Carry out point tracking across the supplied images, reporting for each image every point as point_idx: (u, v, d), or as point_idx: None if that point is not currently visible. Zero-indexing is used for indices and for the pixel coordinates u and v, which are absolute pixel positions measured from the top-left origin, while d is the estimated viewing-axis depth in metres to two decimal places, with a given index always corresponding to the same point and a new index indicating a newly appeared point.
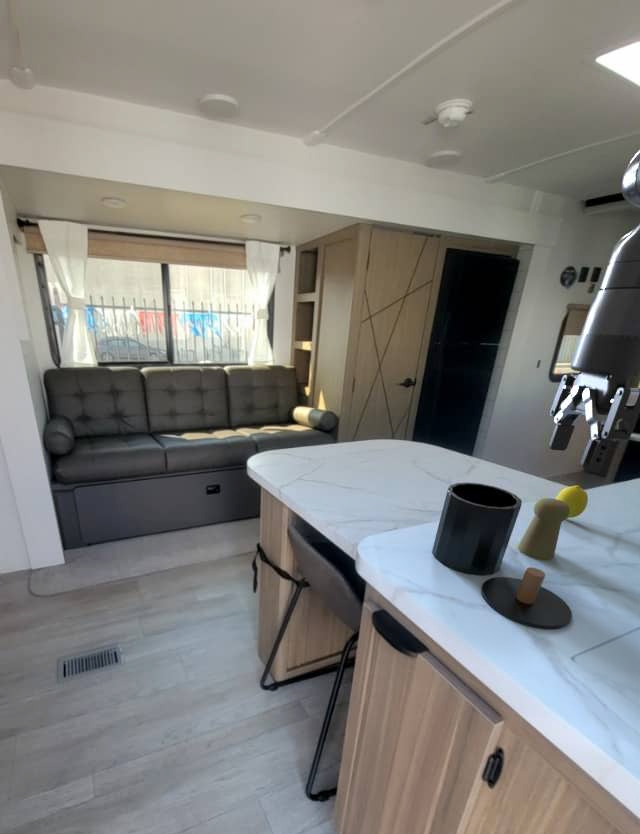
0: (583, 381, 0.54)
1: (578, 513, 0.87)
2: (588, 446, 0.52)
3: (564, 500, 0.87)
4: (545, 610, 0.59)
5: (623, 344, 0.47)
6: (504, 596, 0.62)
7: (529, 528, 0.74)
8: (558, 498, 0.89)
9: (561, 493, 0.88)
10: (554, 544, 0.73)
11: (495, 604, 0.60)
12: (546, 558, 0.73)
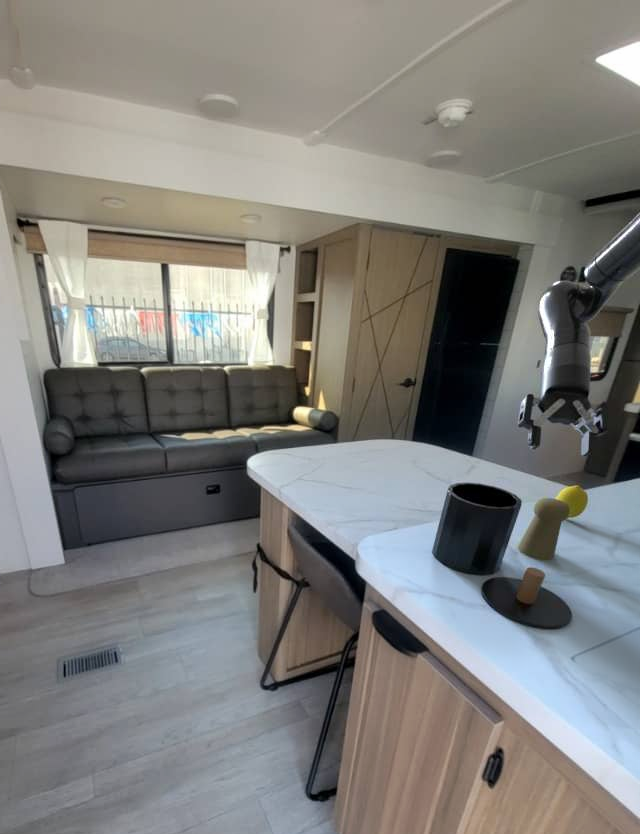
0: None
1: (578, 513, 0.87)
2: None
3: (564, 500, 0.87)
4: (545, 610, 0.59)
5: (542, 381, 0.80)
6: (504, 596, 0.62)
7: (529, 528, 0.74)
8: (558, 498, 0.89)
9: (561, 493, 0.88)
10: (554, 544, 0.73)
11: (495, 604, 0.60)
12: (546, 558, 0.73)
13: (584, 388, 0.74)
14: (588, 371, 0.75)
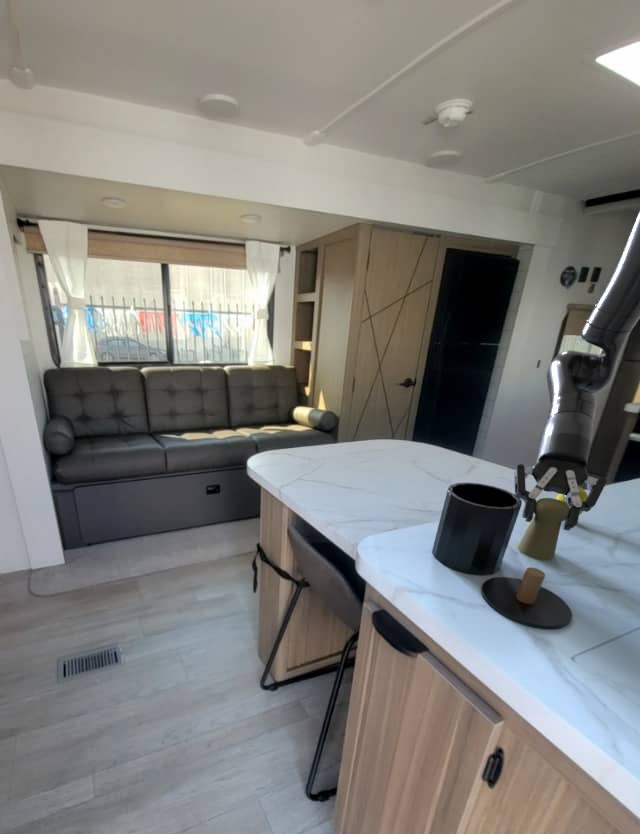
0: None
1: None
2: None
3: (564, 500, 0.87)
4: (545, 610, 0.59)
5: None
6: (504, 596, 0.62)
7: (529, 528, 0.74)
8: (558, 498, 0.89)
9: None
10: (554, 544, 0.73)
11: (495, 604, 0.60)
12: (546, 558, 0.73)
13: (578, 458, 0.71)
14: (585, 441, 0.72)
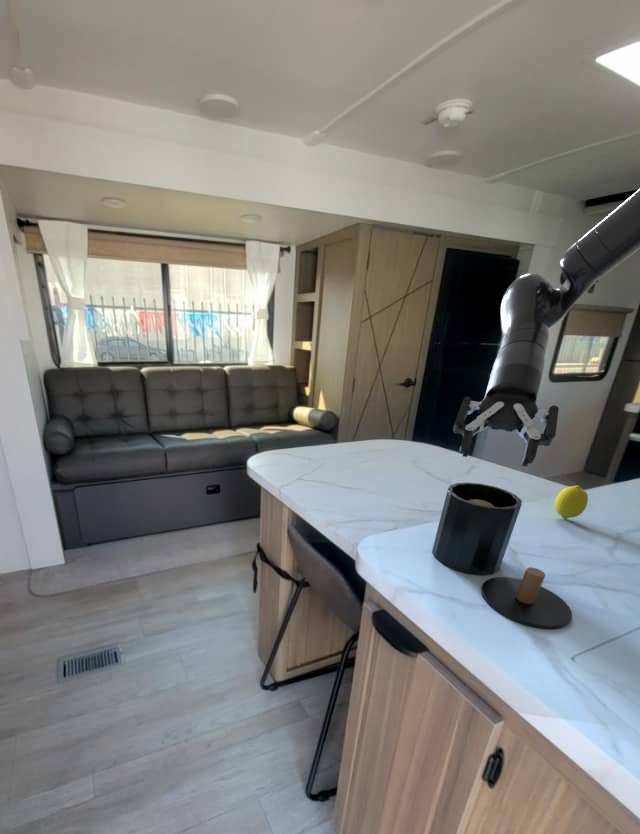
0: None
1: (578, 513, 0.87)
2: None
3: (564, 500, 0.87)
4: (545, 610, 0.59)
5: None
6: (504, 596, 0.62)
7: None
8: (558, 498, 0.89)
9: (561, 493, 0.88)
10: None
11: (495, 604, 0.60)
12: None
13: (526, 389, 0.64)
14: (535, 371, 0.65)
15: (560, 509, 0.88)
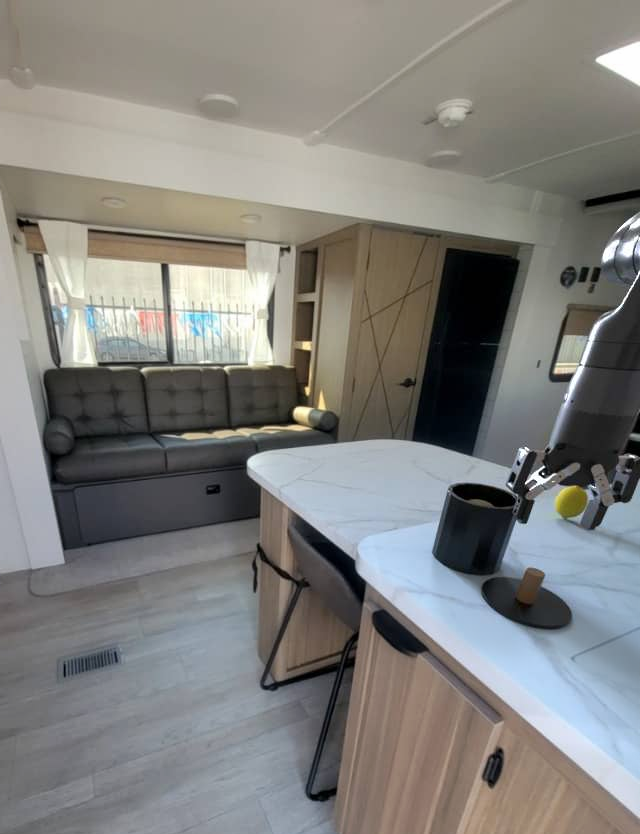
0: None
1: (578, 513, 0.87)
2: None
3: (564, 500, 0.87)
4: (545, 610, 0.59)
5: (560, 413, 0.51)
6: (504, 596, 0.62)
7: None
8: (558, 498, 0.89)
9: (561, 493, 0.88)
10: None
11: (495, 604, 0.60)
12: None
13: (615, 451, 0.48)
14: (633, 420, 0.47)
15: (560, 509, 0.88)
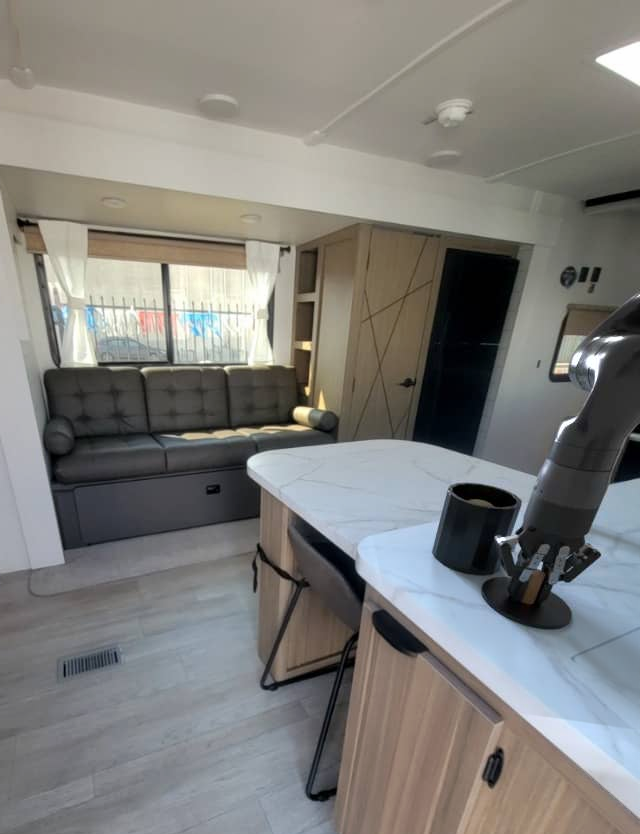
0: None
1: None
2: None
3: None
4: (545, 610, 0.59)
5: (532, 498, 0.56)
6: (504, 596, 0.62)
7: None
8: None
9: None
10: None
11: (495, 604, 0.60)
12: None
13: (580, 536, 0.53)
14: (596, 512, 0.52)
15: None
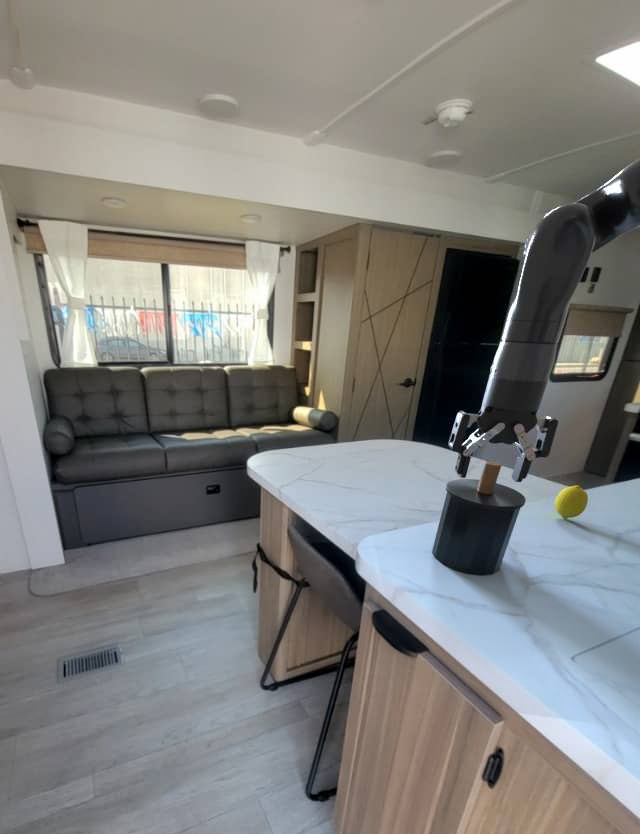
0: None
1: (578, 513, 0.87)
2: None
3: (564, 500, 0.87)
4: (502, 498, 0.65)
5: None
6: (466, 489, 0.68)
7: None
8: (558, 498, 0.89)
9: (561, 493, 0.88)
10: None
11: (457, 494, 0.66)
12: None
13: (531, 411, 0.59)
14: (543, 385, 0.57)
15: (560, 509, 0.88)
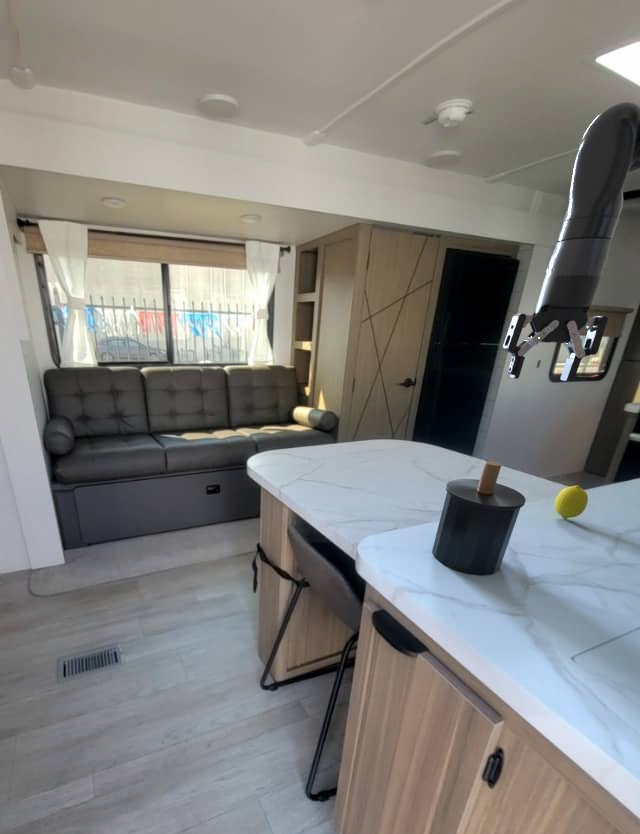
0: None
1: (578, 513, 0.87)
2: None
3: (564, 500, 0.87)
4: (502, 498, 0.65)
5: None
6: (466, 489, 0.68)
7: None
8: (558, 498, 0.89)
9: (561, 493, 0.88)
10: None
11: (457, 494, 0.66)
12: None
13: (584, 306, 0.65)
14: (597, 280, 0.63)
15: (560, 509, 0.88)
